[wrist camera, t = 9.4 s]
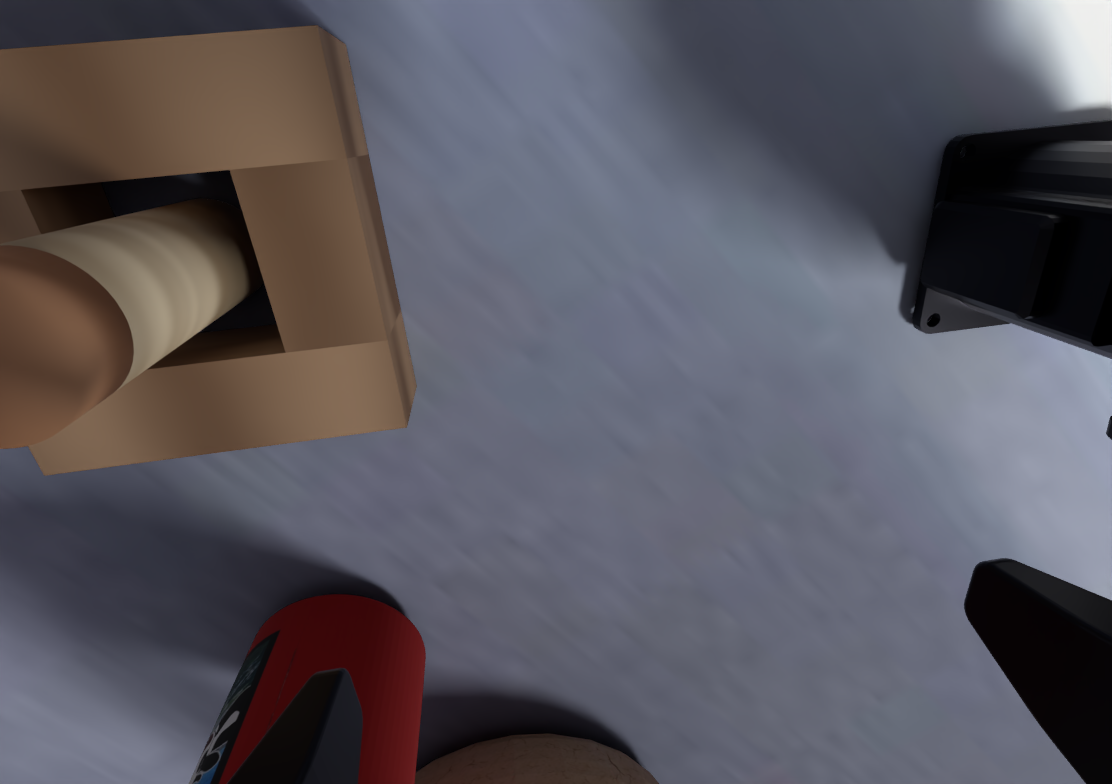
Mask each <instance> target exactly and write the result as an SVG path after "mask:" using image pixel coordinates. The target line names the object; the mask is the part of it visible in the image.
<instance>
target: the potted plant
mask: <svg viewBox="0 0 1112 784" xmlns="http://www.w3.org/2000/svg"><path fill="white" fill-rule="evenodd" d="M415 784H659V783H658V782H657V781H656V779H655V778H654V777H653V776H652V775H651V774H650V772H648V771H647V770H646V769H644V768H643V767H642V766H640V765H639V764H638V763H636V762H635V761H634V760H632V759H631V758H630V757H629V756H627V755H626V754H624V753H622V752H621V751H618V750H616V749H613V748H610V747H608V746H605V745H603V744H600V743H597V742H595V741H592V740H589V739H582V738H576V737H569V736H562V735H556V734H526V735H511V736H506V737H501V738H497V739H492V740H488V741H483V742H478V743H475V744H472V745H470V746H467V747H465V748H462V749H460V750H457V751H455V752H453V753H450V754H448V755H445V756H443V757H441V758H438V759H436V760H434V761H432V762H431V763H429V764H428V765H426V766H425V767H423V768H422V769H420V770H419V771H417V772H416V773H415Z"/></svg>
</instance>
